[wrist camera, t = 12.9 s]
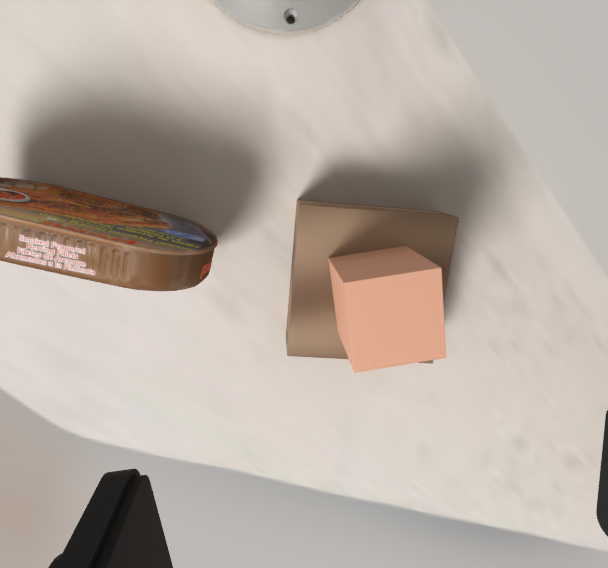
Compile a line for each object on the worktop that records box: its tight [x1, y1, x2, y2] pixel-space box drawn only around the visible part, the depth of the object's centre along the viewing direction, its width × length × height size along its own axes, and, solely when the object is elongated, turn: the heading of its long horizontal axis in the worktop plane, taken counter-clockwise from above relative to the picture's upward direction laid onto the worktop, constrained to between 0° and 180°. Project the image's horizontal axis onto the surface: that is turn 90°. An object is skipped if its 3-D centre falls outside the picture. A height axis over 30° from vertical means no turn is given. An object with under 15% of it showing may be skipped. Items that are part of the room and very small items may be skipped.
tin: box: [0, 178, 218, 291], centre depth 26 cm, size 15×3×8 cm, turn 75°
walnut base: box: [286, 200, 458, 363], centre depth 31 cm, size 10×10×4 cm
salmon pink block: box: [328, 246, 446, 373], centre depth 26 cm, size 5×5×6 cm
